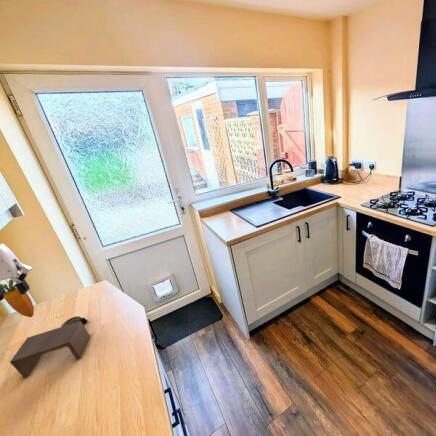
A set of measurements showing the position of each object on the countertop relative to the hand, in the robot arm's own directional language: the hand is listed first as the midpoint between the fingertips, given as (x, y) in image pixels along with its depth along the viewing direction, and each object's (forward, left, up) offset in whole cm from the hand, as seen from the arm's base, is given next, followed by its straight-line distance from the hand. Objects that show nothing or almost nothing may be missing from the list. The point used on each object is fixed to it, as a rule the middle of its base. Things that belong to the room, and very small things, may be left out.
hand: (14, 294), depth 78 cm
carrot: (0, 0, -10) cm, 10 cm away
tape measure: (+3, +10, -27) cm, 29 cm away
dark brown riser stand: (+1, -2, -27) cm, 27 cm away
